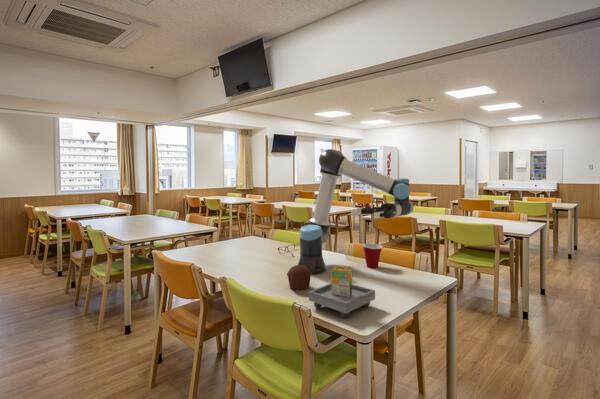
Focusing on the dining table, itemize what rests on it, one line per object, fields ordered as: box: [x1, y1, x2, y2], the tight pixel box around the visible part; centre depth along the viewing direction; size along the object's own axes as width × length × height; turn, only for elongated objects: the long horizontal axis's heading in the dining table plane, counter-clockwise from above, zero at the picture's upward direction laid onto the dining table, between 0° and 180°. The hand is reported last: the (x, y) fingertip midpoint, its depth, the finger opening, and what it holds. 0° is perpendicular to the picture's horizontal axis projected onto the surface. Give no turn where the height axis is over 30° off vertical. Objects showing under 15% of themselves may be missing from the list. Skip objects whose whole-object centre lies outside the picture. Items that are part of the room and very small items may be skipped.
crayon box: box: [330, 265, 353, 297], centre depth 132 cm, size 7×3×12 cm, turn 66°
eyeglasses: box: [277, 244, 300, 258], centre depth 221 cm, size 16×16×4 cm
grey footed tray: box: [308, 282, 376, 319], centre depth 132 cm, size 18×18×6 cm
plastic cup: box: [362, 243, 384, 269], centre depth 185 cm, size 11×11×12 cm
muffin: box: [286, 264, 313, 292], centre depth 155 cm, size 12×11×10 cm
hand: (362, 214), depth 159 cm, fingers open, 13 cm apart
